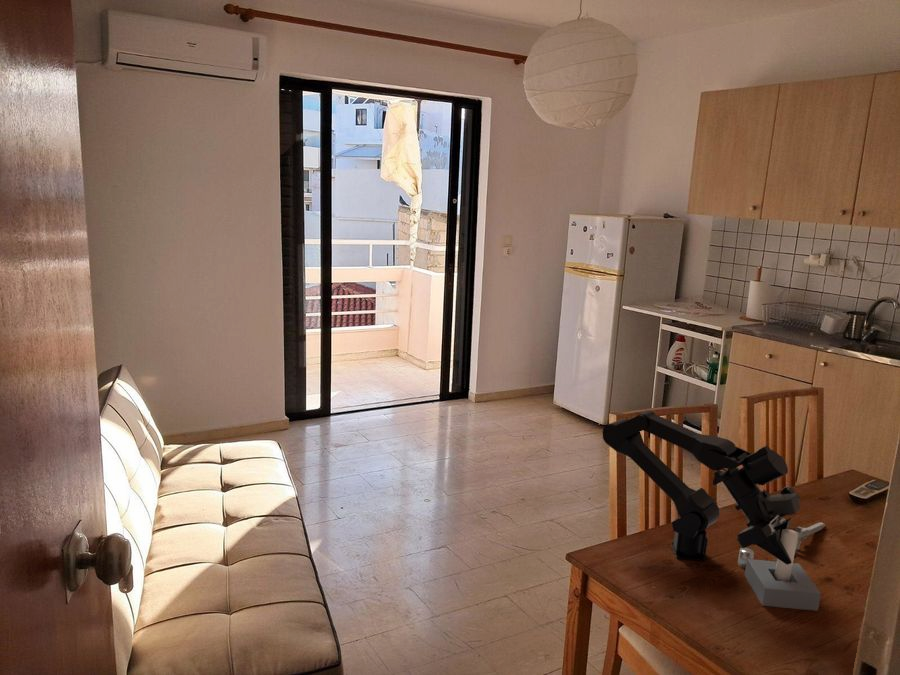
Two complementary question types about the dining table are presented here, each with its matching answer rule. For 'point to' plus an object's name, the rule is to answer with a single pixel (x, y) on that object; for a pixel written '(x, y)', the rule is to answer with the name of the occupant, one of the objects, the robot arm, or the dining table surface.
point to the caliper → (807, 532)
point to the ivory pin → (789, 544)
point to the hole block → (782, 586)
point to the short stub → (745, 556)
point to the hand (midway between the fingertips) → (792, 560)
